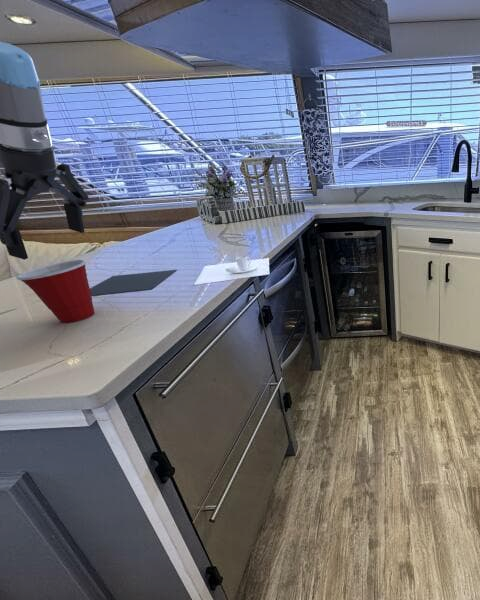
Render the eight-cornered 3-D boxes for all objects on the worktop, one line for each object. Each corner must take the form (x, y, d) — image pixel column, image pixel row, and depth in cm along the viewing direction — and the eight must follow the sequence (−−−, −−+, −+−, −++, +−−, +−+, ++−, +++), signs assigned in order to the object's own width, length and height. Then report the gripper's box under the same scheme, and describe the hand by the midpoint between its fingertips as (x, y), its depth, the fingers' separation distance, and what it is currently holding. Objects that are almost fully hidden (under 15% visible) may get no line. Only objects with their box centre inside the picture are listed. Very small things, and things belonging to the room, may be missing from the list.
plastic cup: (49, 316, 73) (22, 266, 69) (109, 303, 79) (89, 256, 74) (36, 334, 65) (5, 278, 60) (105, 318, 71) (81, 266, 66)
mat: (74, 297, 84) (73, 297, 84) (113, 276, 100) (112, 275, 100) (151, 289, 87) (151, 288, 87) (177, 270, 103) (177, 269, 103)
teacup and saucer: (225, 276, 95) (222, 263, 94) (228, 268, 102) (225, 256, 101) (257, 271, 98) (254, 258, 97) (257, 264, 105) (255, 252, 103)
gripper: (-30, 167, 49) (11, 277, 61) (100, 141, 70) (112, 226, 81) (-89, 147, 48) (-36, 263, 59) (61, 126, 68) (79, 216, 80)
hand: (50, 242), depth 70 cm, fingers open, 13 cm apart
